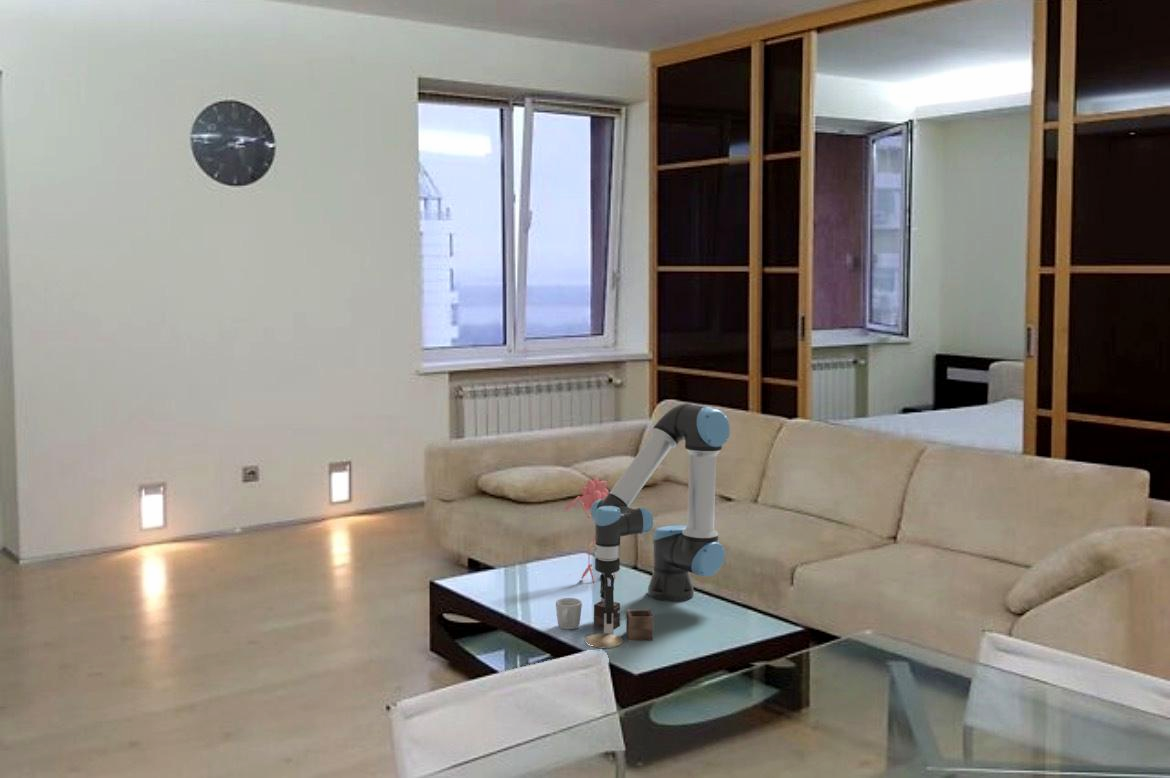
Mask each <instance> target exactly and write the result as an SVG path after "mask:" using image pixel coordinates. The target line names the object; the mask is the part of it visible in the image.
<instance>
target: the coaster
mask: <svg viewBox="0 0 1170 778" xmlns="http://www.w3.org/2000/svg"><path fill="white" fill-rule="evenodd" d="M584 641H586V642H587V643H588V644H590V645H593V646H591V647H594V648H597V647H605V648H604V649H611V648H615V647H619V646H621V645H622V644H623V638H622V637H621V636H619V635H617V634H614V633H613V634H604V633H594V634H589V635H588V636H586V638H585V639H584Z"/></svg>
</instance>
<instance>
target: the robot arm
mask: <svg viewBox="0 0 1170 778" xmlns="http://www.w3.org/2000/svg"><path fill="white" fill-rule="evenodd" d="M650 431H651V435H650V437H648V438H647V441H646V442H645V443H644V444H643V446H642V448H641V449H640V450H639V452H638V453H637V455H635V457H634V458H633V460H632V461H631V463H629V465H628V466H627V468H626V469H625V470H624V472H623V473H622V474H621V476H620V478H619V479H618V480H617V482H616V483H615V485H614V486H613V488H611V490H610V491H609V493H608V494H607V497H606V498H605V500H603V499H602V500H601V499H600V500H597V501H596V502H594V503H593V505H592V507H591V512H590V516H591V517H590V518H591V519H592V520H593V521H594V524H595V525H594V526H595V528H594V532H595V533H594V535H595V539H594V540H595V541H594V542H595V546H593V547H592V549H593V551H595V553H594V554H595V555H594V556H595V559H594V569H595V570H594V571H596V572H598V573H601V574H599V577H600V589H599V590H600V591H599V594H600V602H601V601H603V600H604V603H605V610H603V611H602V613H604V630H603V634H613V635H614V629H613V613H614V602H615V601H614V600H615V599H614V591H615V584H614V583H615V578H614V575H613V573H614V572H615V573H617V572H619V571H620V567H621V564H620V563H621V559H620V556H621V537H625V536H633V535H638V534H640V535H641V534H644V533H647V532H649V531H651V530H652V529H653V525H654V516H653V514H652V512H651V510H649V509H648V508H645V507H638V508H632V507H630V505H632V503H633V501H634V500H635V499H636V497H637V496H638V494H639V493H640V491H641V490H642V488H643V487H644V486H645V484H646V483H647V482H648V481H649V479H650V477H652V475H653V474H654V472H656V470H657V468H658V467H659V466H660V464H661V462H662V461H663V460H664V458H665V457H666V455H667V454H668V453H669V451H670V450H671V449H675V448H676V447H677V446H678V444H679V443H680V442H682V441H684V444H685V445H684V449H685V450H686V451H687V453H688V454H689V457H688V458H689V459H688V461H689V463H688V486H687V487H688V492H687V516H686V517H687V519H686V520H687V521H686V525H668V526H667V525H666V526H660V527H658V528H656V529H655V530H654V532H653V533H654V534H653V541H652V542H653V573H652V575H651V577H650V580H649V584H648V587H647V595H648V596H649V598H652V599H654V600H657V601H664V602H680V601H681V602H682V601H683V602H684V601H687V600H690V599H692V598H693V597H694V594H695V593H694V589H695V588H694V586H693V583H692V580H691V579H692V578H691V576H690V573H692V574H694V575H696V576H701V577H707V578H708V577H711V576H713V575H715V574H716V573H717V572H719V570H720V569H721V568H722V566H723V564H724V562H725V558H726V550H725V548H724V547H723V545H722V544H721V543H720V542H719V532H718V531H717V530H716V529H715V508H716V504H715V503H716V481H717V480H716V479H717V456H718V454H719V453H721V451H722V448H723V447H722V446H724V445H725V444H726V442H727V441H728V440H727V439H729V437H730V433H731V426H730V421H729V419H728V417H727V415H726V414H725V413H724V412H723V411H722V410H719V409H716V408H713V407H711V406H710V407H709V406H703V405H696V404H691V403H682V404H678V405H676V406H674V407H672V408H671V409H669V410H668V411H667V412H666V413H664V414H663V416H661V417H660V418H659V420H658V421H657V422H656V423H655V425H654V426H653V428H651V430H650ZM608 608H611V609H608Z"/></svg>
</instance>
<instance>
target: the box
mask: <svg viewBox="0 0 1170 778" xmlns="http://www.w3.org/2000/svg"><path fill="white" fill-rule="evenodd" d="M608 609H611V608H608ZM603 610H605V603H604V600H603V601H601V600H600V601H599V602H597V603H595V604H593V628H595V629H600V630H603V631H604V613H602V611H603ZM620 626H621V602H616V601H614V613H613V630H615V629H618V627H620Z"/></svg>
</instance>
